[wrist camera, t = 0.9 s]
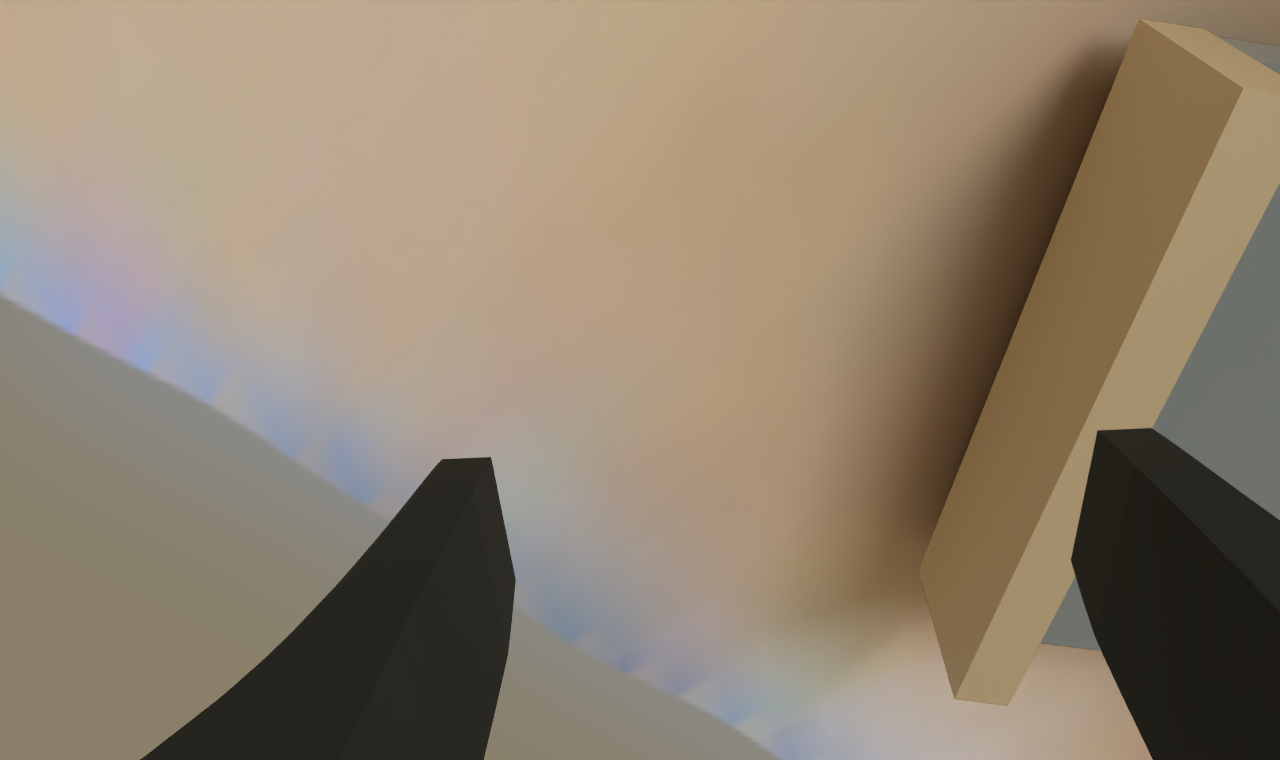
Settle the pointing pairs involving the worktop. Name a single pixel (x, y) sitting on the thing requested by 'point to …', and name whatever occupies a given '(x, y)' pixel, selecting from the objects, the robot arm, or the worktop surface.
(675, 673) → the worktop surface
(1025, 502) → the beige grey flat-sided piece
